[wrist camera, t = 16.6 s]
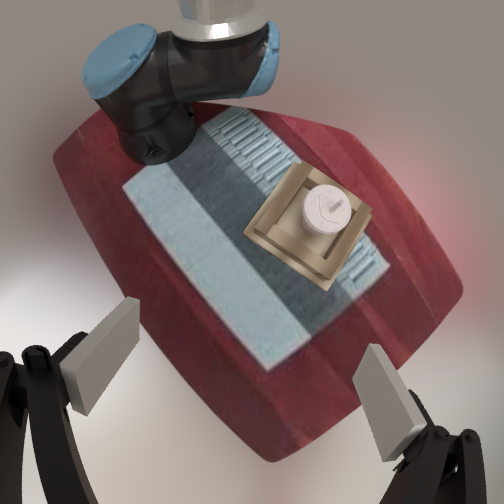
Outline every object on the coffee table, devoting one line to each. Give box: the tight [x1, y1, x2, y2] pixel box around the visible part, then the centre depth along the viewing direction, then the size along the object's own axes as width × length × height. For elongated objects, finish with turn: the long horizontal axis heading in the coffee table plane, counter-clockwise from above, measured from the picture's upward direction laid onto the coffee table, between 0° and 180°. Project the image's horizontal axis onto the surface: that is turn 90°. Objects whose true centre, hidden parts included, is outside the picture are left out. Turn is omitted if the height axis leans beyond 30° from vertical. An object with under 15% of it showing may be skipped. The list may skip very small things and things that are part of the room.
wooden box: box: [243, 160, 372, 291], centre depth 42 cm, size 16×15×6 cm
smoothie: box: [301, 184, 351, 236], centre depth 36 cm, size 6×6×14 cm
